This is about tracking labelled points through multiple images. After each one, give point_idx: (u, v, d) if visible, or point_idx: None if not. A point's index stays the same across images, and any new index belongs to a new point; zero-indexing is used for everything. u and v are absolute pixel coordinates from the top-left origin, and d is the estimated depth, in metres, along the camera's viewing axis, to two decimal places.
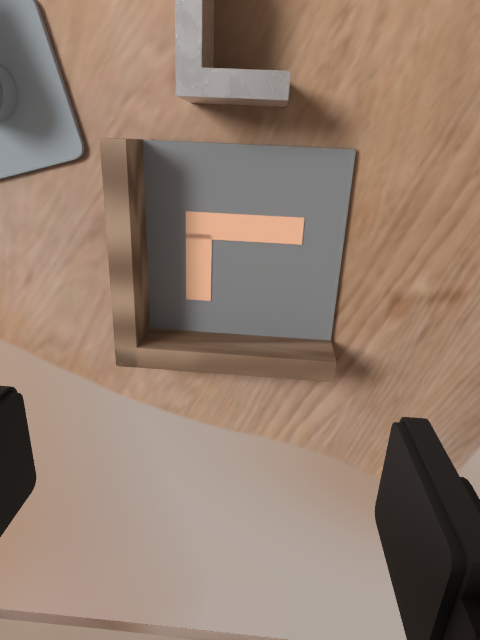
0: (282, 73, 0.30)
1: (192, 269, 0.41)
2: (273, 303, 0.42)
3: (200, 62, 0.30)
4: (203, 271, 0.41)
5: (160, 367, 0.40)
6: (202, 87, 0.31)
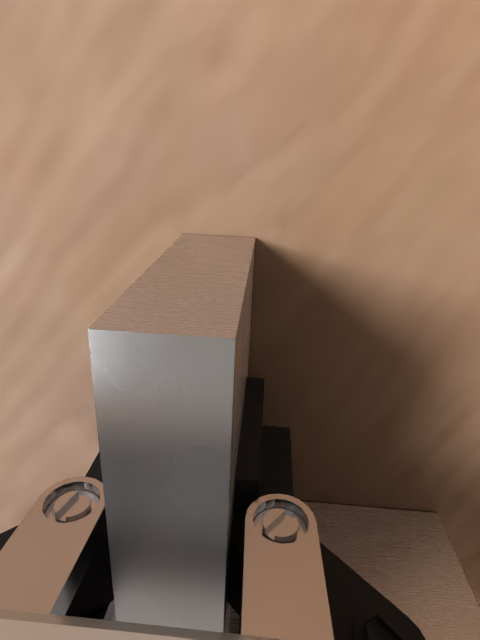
0: None
1: None
2: None
3: None
4: None
5: None
6: None
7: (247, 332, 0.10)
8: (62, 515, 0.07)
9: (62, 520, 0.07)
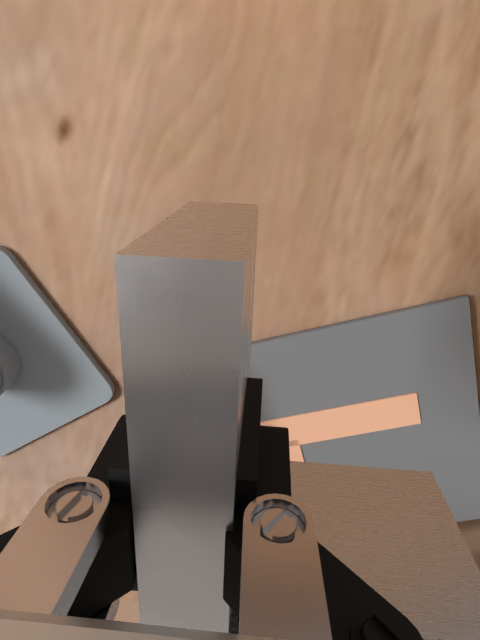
0: None
1: None
2: None
3: None
4: None
5: None
6: None
7: (251, 288, 0.10)
8: (64, 515, 0.07)
9: (64, 520, 0.07)
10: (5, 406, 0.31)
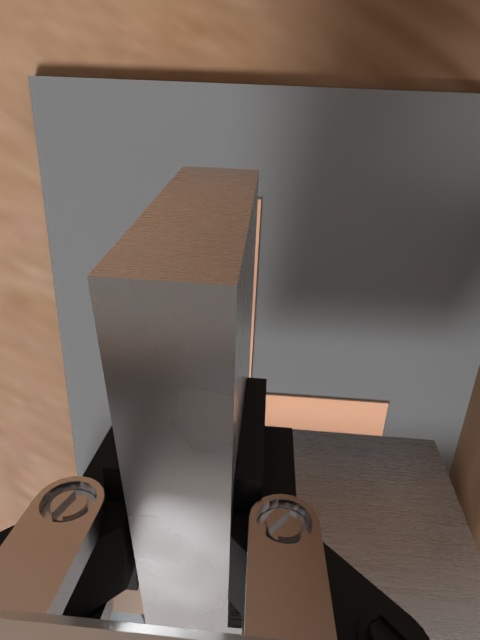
0: None
1: None
2: (411, 265, 0.17)
3: (224, 618, 0.09)
4: (320, 412, 0.19)
5: None
6: None
7: (251, 271, 0.09)
8: (59, 515, 0.07)
9: (59, 520, 0.07)
10: None
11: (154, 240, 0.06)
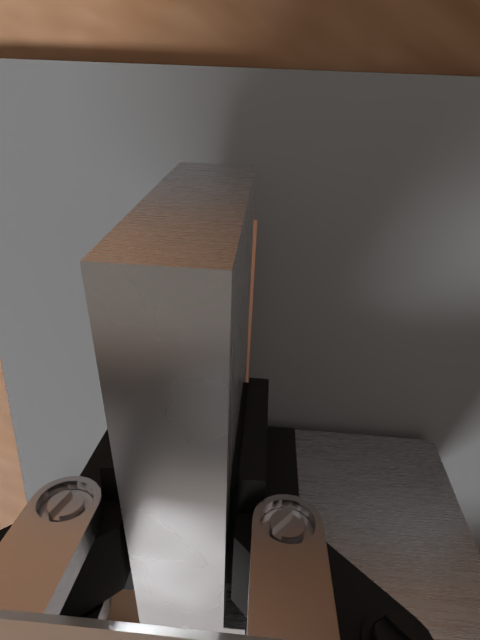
0: None
1: None
2: (452, 305, 0.13)
3: (219, 619, 0.09)
4: None
5: None
6: None
7: (248, 265, 0.09)
8: (56, 514, 0.08)
9: (56, 519, 0.07)
10: None
11: (149, 228, 0.06)
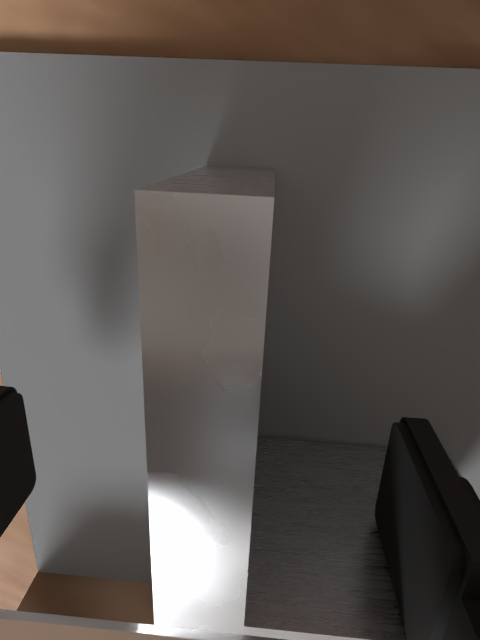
0: None
1: None
2: (470, 310, 0.12)
3: (240, 614, 0.09)
4: None
5: None
6: None
7: None
8: None
9: None
10: None
11: (190, 183, 0.07)
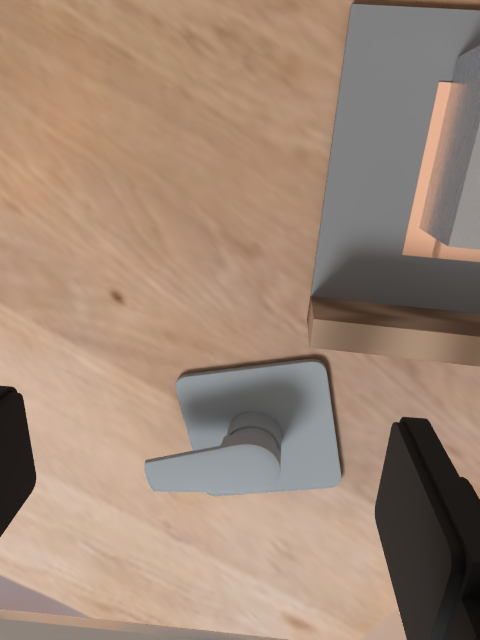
0: None
1: None
2: None
3: None
4: None
5: None
6: None
7: None
8: None
9: None
10: (297, 446, 0.37)
11: None
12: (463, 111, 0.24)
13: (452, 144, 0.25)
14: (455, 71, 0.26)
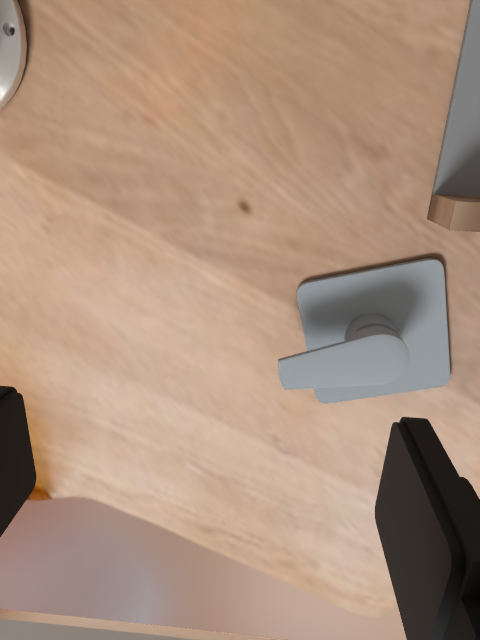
0: None
1: None
2: None
3: None
4: None
5: None
6: None
7: None
8: None
9: None
10: (410, 346, 0.40)
11: None
12: None
13: None
14: None
